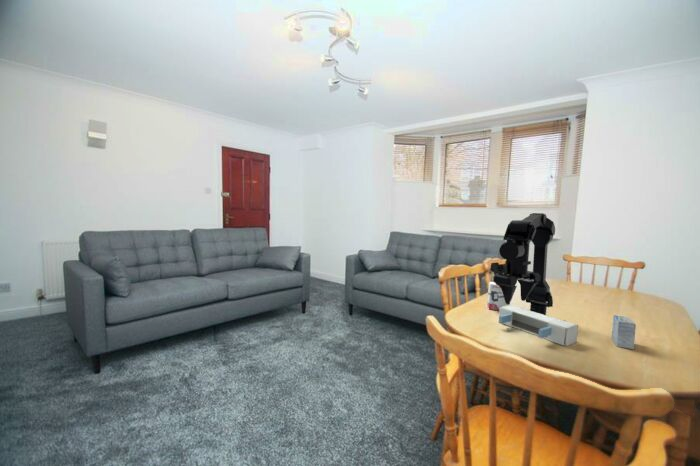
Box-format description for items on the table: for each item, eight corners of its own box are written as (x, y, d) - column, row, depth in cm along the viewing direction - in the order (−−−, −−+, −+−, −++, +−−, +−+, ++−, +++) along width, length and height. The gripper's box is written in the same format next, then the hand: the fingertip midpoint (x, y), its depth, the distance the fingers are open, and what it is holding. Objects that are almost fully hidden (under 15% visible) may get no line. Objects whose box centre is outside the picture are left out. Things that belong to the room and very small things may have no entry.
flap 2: (547, 339, 103) (549, 323, 103) (564, 345, 99) (565, 328, 98) (537, 343, 100) (538, 326, 99) (553, 349, 96) (555, 331, 95)
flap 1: (499, 321, 118) (500, 307, 118) (511, 326, 114) (512, 311, 114) (489, 324, 115) (490, 310, 115) (501, 329, 111) (502, 314, 110)
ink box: (488, 309, 134) (490, 283, 133) (487, 306, 139) (488, 281, 138) (509, 312, 132) (511, 285, 131) (507, 308, 136) (509, 283, 136)
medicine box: (634, 350, 97) (636, 324, 97) (615, 346, 100) (618, 321, 99) (627, 341, 104) (630, 317, 103) (611, 338, 106) (613, 314, 106)
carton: (508, 318, 123) (510, 304, 122) (576, 342, 102) (578, 324, 102) (498, 321, 119) (499, 306, 119) (566, 346, 99) (568, 328, 98)
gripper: (511, 253, 114) (508, 293, 115) (480, 255, 104) (477, 299, 106) (542, 257, 104) (539, 301, 105) (511, 260, 95) (507, 308, 96)
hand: (515, 302), depth 103 cm, fingers open, 9 cm apart
